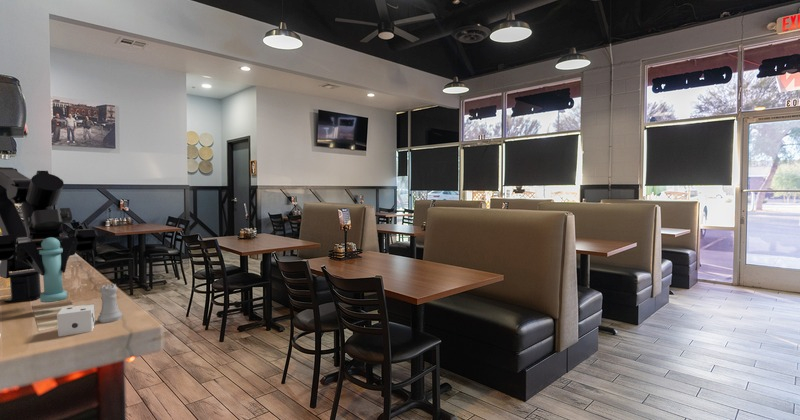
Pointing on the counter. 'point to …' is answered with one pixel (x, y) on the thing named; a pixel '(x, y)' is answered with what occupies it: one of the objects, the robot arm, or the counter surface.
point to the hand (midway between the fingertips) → (53, 272)
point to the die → (76, 320)
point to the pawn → (52, 271)
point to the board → (49, 314)
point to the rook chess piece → (109, 304)
